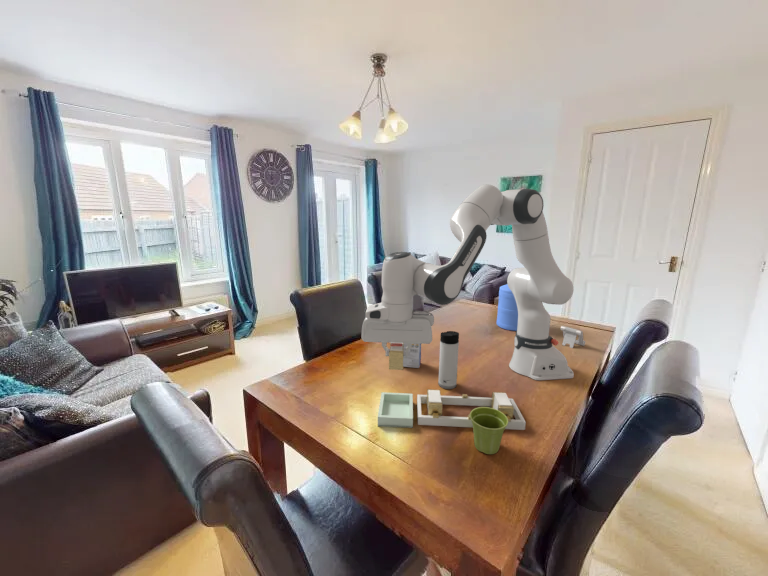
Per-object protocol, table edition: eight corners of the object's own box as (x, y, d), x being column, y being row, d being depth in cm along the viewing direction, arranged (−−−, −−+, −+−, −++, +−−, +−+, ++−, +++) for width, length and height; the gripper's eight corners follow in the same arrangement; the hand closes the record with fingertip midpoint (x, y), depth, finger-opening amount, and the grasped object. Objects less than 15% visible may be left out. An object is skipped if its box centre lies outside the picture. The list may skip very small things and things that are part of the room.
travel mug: (446, 391, 111) (449, 336, 106) (434, 382, 117) (436, 330, 112) (460, 387, 114) (463, 333, 109) (448, 378, 119) (451, 327, 115)
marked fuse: (403, 358, 99) (403, 338, 98) (402, 371, 91) (403, 350, 90) (390, 357, 99) (390, 338, 98) (388, 370, 91) (389, 349, 90)
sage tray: (412, 401, 105) (412, 393, 104) (412, 428, 92) (412, 418, 92) (381, 400, 106) (381, 392, 105) (377, 426, 93) (377, 417, 92)
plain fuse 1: (439, 405, 103) (439, 388, 102) (441, 422, 95) (442, 404, 94) (426, 405, 103) (427, 388, 102) (428, 421, 95) (428, 403, 94)
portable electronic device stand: (584, 345, 149) (587, 328, 147) (577, 349, 145) (579, 332, 143) (565, 339, 156) (567, 323, 154) (557, 343, 151) (559, 326, 149)
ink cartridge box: (421, 362, 133) (422, 328, 129) (419, 368, 127) (420, 333, 124) (397, 360, 134) (397, 327, 131) (394, 366, 129) (395, 332, 126)
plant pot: (461, 437, 89) (463, 409, 87) (492, 432, 91) (495, 404, 89) (478, 462, 80) (481, 431, 78) (512, 456, 82) (516, 426, 80)
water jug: (532, 331, 166) (538, 277, 160) (501, 331, 167) (506, 277, 160) (520, 321, 182) (525, 272, 175) (492, 321, 182) (496, 272, 175)
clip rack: (512, 405, 103) (513, 396, 102) (525, 430, 91) (526, 419, 91) (417, 401, 105) (417, 392, 105) (417, 424, 94) (418, 414, 93)
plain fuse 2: (503, 408, 102) (505, 391, 100) (511, 425, 93) (513, 407, 92) (491, 408, 102) (492, 390, 100) (498, 425, 94) (499, 406, 92)
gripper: (433, 308, 94) (431, 352, 97) (363, 306, 95) (363, 350, 98) (435, 314, 88) (433, 362, 91) (360, 312, 89) (360, 359, 92)
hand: (396, 355), depth 95 cm, fingers closed on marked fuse, 3 cm apart
